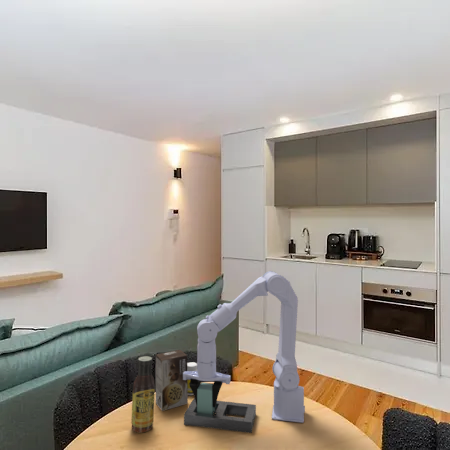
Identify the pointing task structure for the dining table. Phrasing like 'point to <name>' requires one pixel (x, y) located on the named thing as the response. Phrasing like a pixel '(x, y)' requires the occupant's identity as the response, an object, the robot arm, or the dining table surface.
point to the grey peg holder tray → (223, 416)
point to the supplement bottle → (191, 367)
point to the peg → (205, 399)
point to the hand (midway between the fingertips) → (206, 404)
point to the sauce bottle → (143, 397)
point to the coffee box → (171, 379)
